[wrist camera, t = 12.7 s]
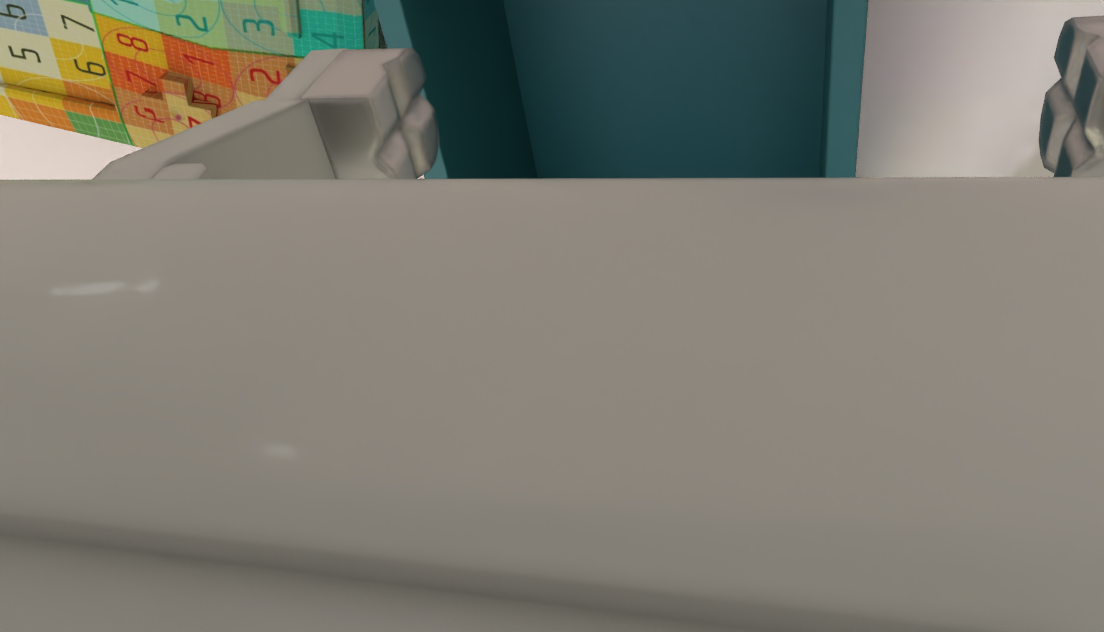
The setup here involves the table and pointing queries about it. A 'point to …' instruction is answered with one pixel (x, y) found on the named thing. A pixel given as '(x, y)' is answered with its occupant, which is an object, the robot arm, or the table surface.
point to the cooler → (638, 86)
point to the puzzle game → (160, 58)
